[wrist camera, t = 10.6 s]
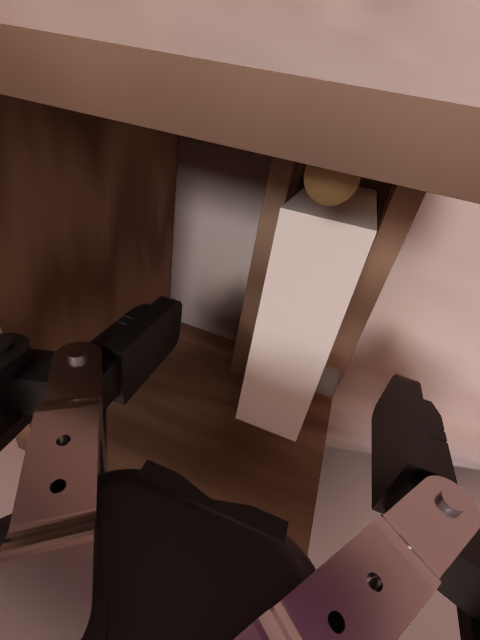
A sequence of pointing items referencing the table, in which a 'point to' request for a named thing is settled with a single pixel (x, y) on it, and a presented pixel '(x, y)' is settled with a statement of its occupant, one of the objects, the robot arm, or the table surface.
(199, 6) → the table surface
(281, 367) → the door
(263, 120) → the cabinet
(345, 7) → the table surface
